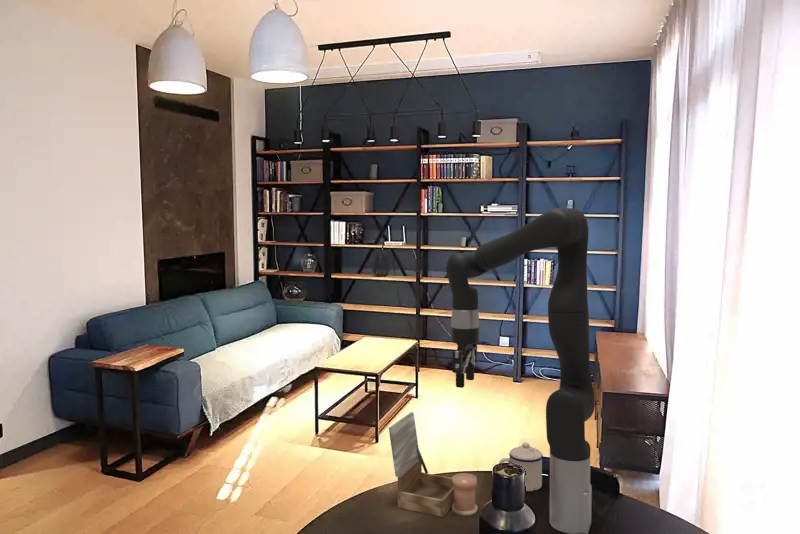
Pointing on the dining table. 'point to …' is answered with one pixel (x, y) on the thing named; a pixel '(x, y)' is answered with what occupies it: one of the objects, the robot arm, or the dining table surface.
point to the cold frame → (417, 473)
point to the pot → (464, 491)
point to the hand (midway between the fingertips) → (465, 383)
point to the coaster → (464, 513)
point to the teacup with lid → (528, 464)
